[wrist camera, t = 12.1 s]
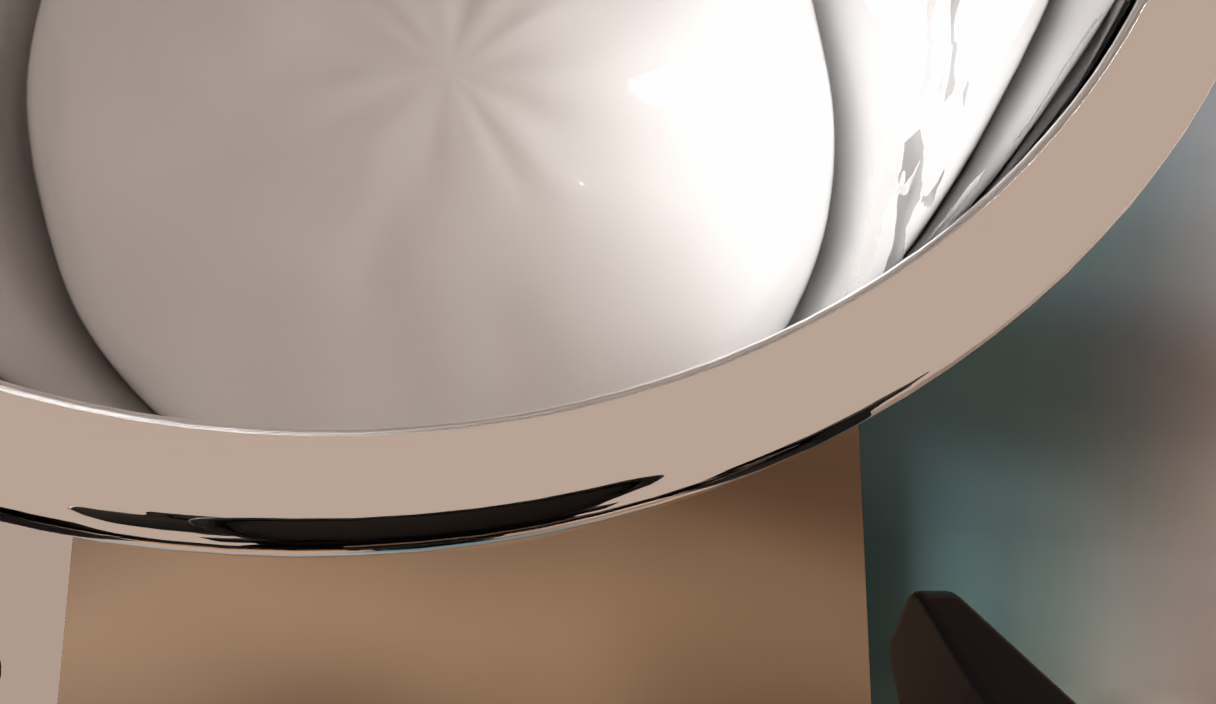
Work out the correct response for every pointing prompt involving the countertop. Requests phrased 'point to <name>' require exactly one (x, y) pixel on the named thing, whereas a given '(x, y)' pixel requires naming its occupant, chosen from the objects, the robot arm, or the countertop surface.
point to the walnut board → (505, 611)
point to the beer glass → (524, 245)
